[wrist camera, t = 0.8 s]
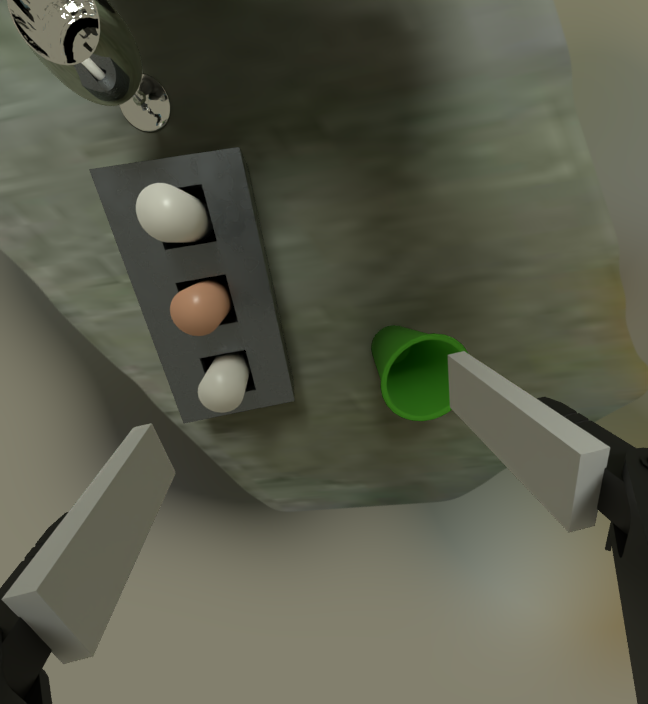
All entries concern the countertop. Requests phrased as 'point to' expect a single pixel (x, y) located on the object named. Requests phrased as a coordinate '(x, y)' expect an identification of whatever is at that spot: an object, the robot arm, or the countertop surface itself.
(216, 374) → the white plug
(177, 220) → the white plug
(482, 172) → the countertop surface
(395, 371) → the cup
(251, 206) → the grey socket block
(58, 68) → the wineglass
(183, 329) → the plug terracotta
